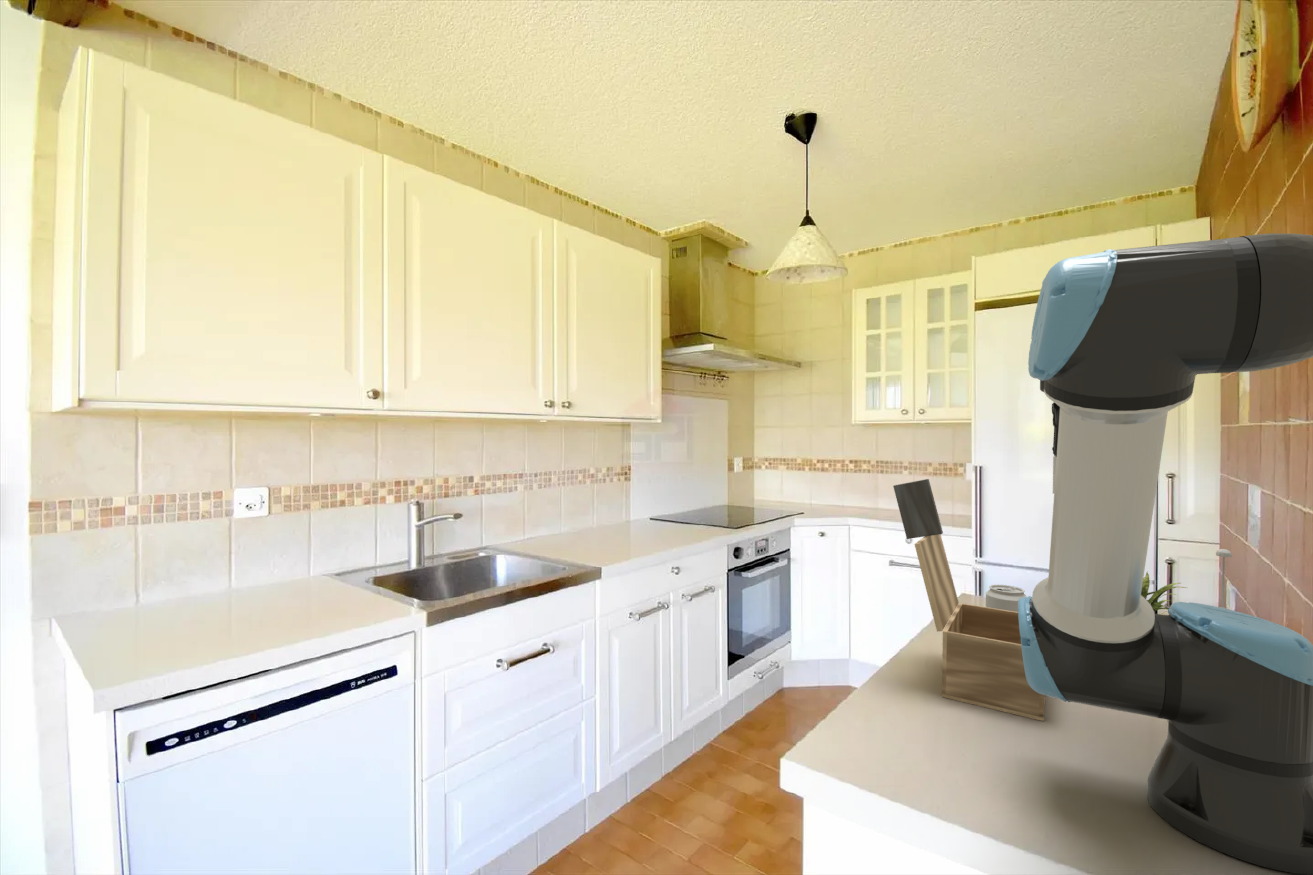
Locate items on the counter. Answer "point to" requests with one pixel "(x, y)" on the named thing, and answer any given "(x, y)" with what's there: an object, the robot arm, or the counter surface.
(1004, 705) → the wooden box
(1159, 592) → the house plant
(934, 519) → the wooden box lid
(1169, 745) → the robot arm
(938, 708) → the counter surface
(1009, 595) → the can
